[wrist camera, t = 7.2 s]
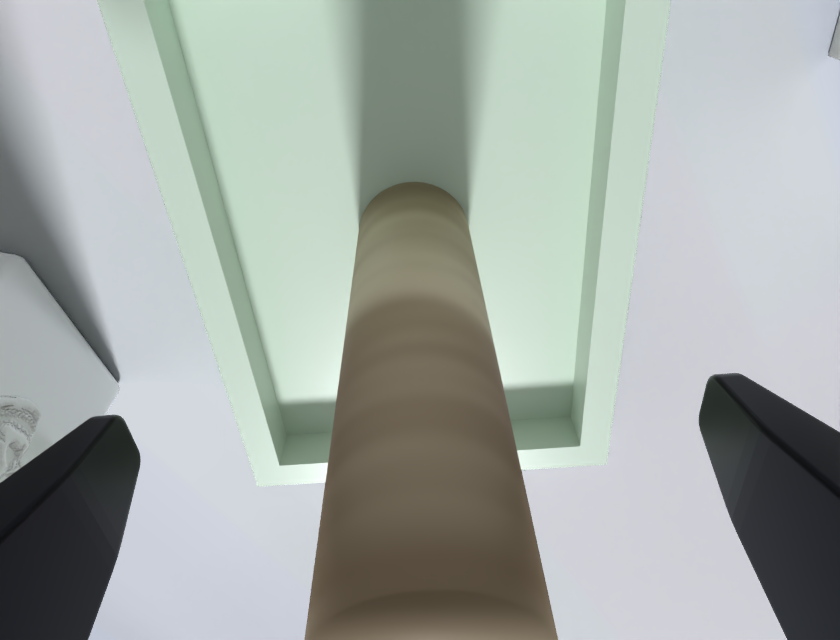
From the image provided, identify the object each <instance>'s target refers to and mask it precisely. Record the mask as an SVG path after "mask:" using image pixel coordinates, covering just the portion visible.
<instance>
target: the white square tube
mask: <svg viewBox="0 0 840 640" xmlns="http://www.w3.org/2000/svg"><path fill="white" fill-rule="evenodd" d="M828 56H830V57H833V58H835V59H838V60H840V16H839V19H838V23H837V27H836V30H835V34H834V37H833V41H832V44H831V48H830V52H829V55H828Z"/></svg>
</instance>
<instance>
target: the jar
mask: <svg viewBox="0 0 840 640" xmlns="http://www.w3.org/2000/svg"><path fill="white" fill-rule="evenodd" d="M119 391H120V387H119V384H118V382H117V381H116V380H115V378H114V377H113V376H112V374H111V373H110V372H109V370H108V369H107V368H106V367H105V365H104V364H103V363H102V361H101V360H100V359H99V357H98V356H97V355H96V353H95V352H94V351H93V349H92V348H91V347H90V345H89V344H88V343H87V341H86V340H85V339H84V337H83V336H82V335H81V333H80V332H79V331H78V329H77V328H76V327H75V325H74V324H73V323H72V321H71V320H70V319H69V317H68V316H67V315H66V313H65V312H64V311H63V309H62V308H61V307H60V305H59V304H58V303H57V301H56V300H55V299H54V297H53V296H52V295H51V293H50V292H49V291H48V289H47V288H46V287H45V285H44V284H43V283H42V281H41V280H40V279H39V277H38V276H37V275H36V273H35V272H34V271H33V269H32V268H31V267H30V266H29V264H28V263H27V262H26V260H25V259H24V258H22V257H21V256H18V255H14V254H9V253H3V252H0V483H1V482H2V481H3V480H5V479H6V478H8V477H9V476H10V475H12V474H13V473H14V472H16V471H17V470H19V469H20V468H21V467H23V466H24V465H26V464H27V463H28V462H30V461H31V460H32V459H34V458H35V457H37V456H38V455H39V454H41V453H42V452H43V451H45V450H46V449H48V448H49V447H50V446H52V445H53V444H55V443H56V442H57V441H59V440H60V439H61V438H63V437H64V436H66V435H67V434H68V433H70V432H71V431H72V430H74V429H75V428H77V427H78V426H79V425H81V424H82V423H83V422H85V421H86V420H88V419H89V418H91V417H94V416H103V415H106V414H107V412H108V410H109V409H110V407H111V405H112V404H113V402H114V400H115V399H116V397H117V395H118V394H119Z"/></svg>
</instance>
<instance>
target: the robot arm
mask: <svg viewBox="0 0 840 640" xmlns="http://www.w3.org/2000/svg"><path fill="white" fill-rule="evenodd" d="M699 426H700V431H701V434H702V437H703V440H704V443H705V446H706V449H707V452H708V455H709V457H710V460H711V463H712V466H713V469H714V472H715V475H716V478H717V481H718V484H719V487H720V490H721V493H722V496H723V499H724V502H725V505H726V507H727V510H728V513H729V515H730V518H731V521H732V523H733V525H734V527H735V530H736V532H737V534H738V536H739V539H740V541H741V543H742V545H743V547H744V549H745V551H746V553H747V555H748V558H749V560H750V562H751V564H752V566H753V568H754V570H755V572H756V575H757V577H758V579H759V581H760V583H761V585H762V587H763V589H764V591H765V594H766V596H767V598H768V600H769V602H770V604H771V606H772V608H773V610H774V613H775V615H776V617H777V619H778V621H779V623H780V625H781V627H782V629H783V632H784V634H785V636H786V638H787V640H840V432H838V431H837V430H835V429H833V428H832V427H830V426H828V425H827V424H825V423H823V422H822V421H820V420H818V419H816V418H815V417H813V416H811V415H810V414H808V413H806V412H805V411H803V410H801V409H800V408H798V407H796V406H794V405H793V404H791V403H789V402H788V401H786V400H784V399H783V398H781V397H779V396H778V395H776V394H774V393H772V392H771V391H769V390H767V389H766V388H764V387H762V386H761V385H759V384H757V383H756V382H754V381H752V380H751V379H749V378H747V377H745V376H744V375H742V374H739V373H729V374H715V375H713V376H711V377H710V378H709V379H708V381H707V384H706V388H705V393H704V397H703V401H702V405H701V409H700V413H699ZM139 469H140V453H139V450H138V448H137V446H136V444H135V441H134V439H133V437H132V435H131V433H130V431H129V429H128V427H127V424H126V422H125V421H124V419H123V418H122V417H121V416H119V415H103V416H94V417H91V418H89V419H88V420H86V421H85V422H83V423H82V424H81V425H79V426H78V427H77V428H75V429H74V430H72V431H71V432H70V433H68V434H67V435H66V436H64V437H63V438H61V439H60V440H59V441H57V442H56V443H55V444H53V445H52V446H50V447H49V448H48V449H46V450H45V451H43V452H42V453H41V454H39V455H38V456H37V457H35V458H34V459H32V460H31V461H30V462H28V463H27V464H26V465H24V466H23V467H21V468H20V469H19V470H17V471H16V472H14V473H13V474H12V475H10V476H9V477H8V478H6V479H5V480H3V481H2V482H1V483H0V640H88V638H89V636H90V633H91V630H92V627H93V624H94V622H95V619H96V616H97V613H98V611H99V608H100V605H101V602H102V600H103V597H104V594H105V591H106V589H107V586H108V583H109V580H110V578H111V575H112V572H113V569H114V566H115V563H116V560H117V557H118V553H119V550H120V546H121V543H122V539H123V535H124V530H125V526H126V522H127V518H128V514H129V510H130V506H131V502H132V497H133V493H134V489H135V485H136V481H137V477H138V473H139Z"/></svg>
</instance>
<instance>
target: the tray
mask: <svg viewBox="0 0 840 640" xmlns="http://www.w3.org/2000/svg"><path fill="white" fill-rule="evenodd" d="M97 2H98V5H99V8H100V11H101V14H102V17H103V20H104V23H105V26H106V29H107V32H108V35H109V38H110V41H111V44H112V47H113V50H114V53H115V56H116V59H117V62H118V65H119V68H120V71H121V74H122V77H123V80H124V83H125V86H126V89H127V92H128V96H129V99H130V102H131V105H132V108H133V111H134V114H135V117H136V120H137V123H138V126H139V129H140V132H141V135H142V138H143V141H144V144H145V147H146V150H147V153H148V156H149V159H150V162H151V165H152V168H153V171H154V174H155V177H156V180H157V183H158V186H159V189H160V192H161V195H162V198H163V201H164V205H165V208H166V211H167V214H168V217H169V220H170V223H171V226H172V229H173V232H174V235H175V238H176V241H177V244H178V247H179V250H180V253H181V256H182V259H183V262H184V265H185V268H186V271H187V274H188V277H189V280H190V283H191V286H192V289H193V292H194V295H195V298H196V301H197V304H198V307H199V310H200V314H201V317H202V320H203V323H204V326H205V329H206V332H207V335H208V338H209V341H210V344H211V347H212V350H213V353H214V356H215V359H216V362H217V365H218V368H219V371H220V374H221V377H222V380H223V383H224V386H225V389H226V392H227V395H228V398H229V401H230V404H231V407H232V410H233V413H234V416H235V420H236V423H237V426H238V429H239V432H240V435H241V438H242V441H243V444H244V447H245V450H246V453H247V456H248V459H249V462H250V465H251V468H252V471H253V474H254V477H255V480H256V483H257V486H258V487H262V486H278V485H293V484H309V483H325V482H326V475H327V467H328V460H329V452H330V444H331V437H332V429H333V422H334V414H335V407H336V399H337V391H338V384H339V376H340V369H341V361H342V354H343V346H344V339H345V331H346V323H347V316H348V308H349V301H350V293H351V286H352V278H353V270H354V263H355V255H356V248H357V240H358V233H359V225H360V221H361V217H362V215H363V212H364V210H365V209H366V207H367V205H368V204H369V203H370V201H371V200H372V199H373V198H374V197H375V196H376V195H378V194H379V193H380V192H382V191H383V190H385V189H387V188H389V187H391V186H394V185H397V184H400V183H406V182H423V183H428V184H432V185H435V186H437V187H439V188H441V189H443V190H445V191H446V192H448V193H449V194H451V195H452V196H453V197H454V198H455V199H456V200H457V202H458V203H459V204H460V205H461V207H462V209H463V211H464V213H465V215H466V218H467V222H468V227H469V231H470V236H471V240H472V245H473V250H474V254H475V259H476V263H477V268H478V273H479V277H480V282H481V287H482V291H483V296H484V300H485V305H486V310H487V314H488V319H489V323H490V328H491V333H492V337H493V342H494V347H495V351H496V356H497V360H498V365H499V370H500V374H501V379H502V383H503V388H504V393H505V397H506V402H507V407H508V411H509V416H510V420H511V425H512V430H513V434H514V439H515V443H516V448H517V453H518V457H519V462H520V467H521V470H530V469H545V468H561V467H577V466H592V465H606V464H607V457H608V450H609V443H610V436H611V429H612V421H613V414H614V407H615V400H616V393H617V385H618V378H619V371H620V364H621V357H622V349H623V342H624V335H625V328H626V321H627V314H628V306H629V299H630V292H631V285H632V278H633V270H634V263H635V256H636V249H637V242H638V235H639V227H640V220H641V213H642V206H643V199H644V191H645V184H646V177H647V170H648V163H649V156H650V148H651V141H652V134H653V127H654V120H655V112H656V105H657V98H658V91H659V84H660V76H661V69H662V62H663V55H664V48H665V41H666V33H667V26H668V19H669V12H670V5H671V0H97Z"/></svg>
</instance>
